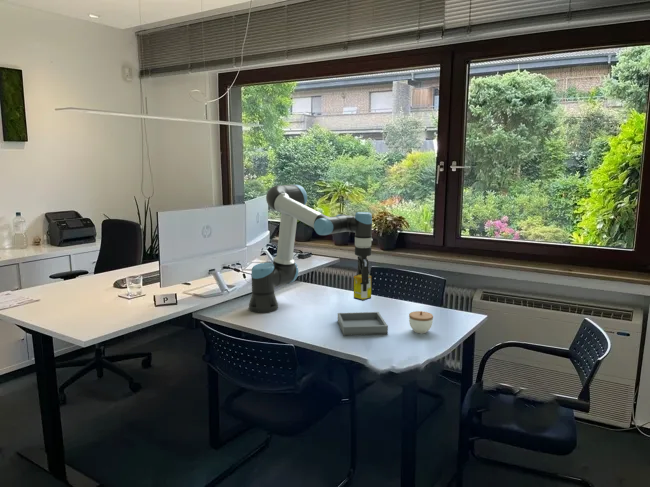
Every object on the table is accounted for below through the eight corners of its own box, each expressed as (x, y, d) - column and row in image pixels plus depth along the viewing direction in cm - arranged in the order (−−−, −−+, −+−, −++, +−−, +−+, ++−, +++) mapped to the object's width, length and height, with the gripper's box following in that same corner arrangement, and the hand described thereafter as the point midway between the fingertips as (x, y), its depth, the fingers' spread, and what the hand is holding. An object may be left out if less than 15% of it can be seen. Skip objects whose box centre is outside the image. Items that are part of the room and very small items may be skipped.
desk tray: (337, 321, 237) (337, 313, 236) (378, 319, 239) (378, 311, 238) (343, 335, 217) (343, 327, 217) (387, 334, 219) (387, 325, 219)
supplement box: (361, 296, 230) (362, 273, 228) (371, 298, 226) (371, 275, 224) (353, 298, 226) (353, 275, 224) (362, 301, 222) (363, 277, 220)
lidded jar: (427, 336, 217) (428, 316, 215) (404, 332, 222) (405, 312, 221) (435, 329, 226) (436, 310, 224) (413, 325, 231) (414, 306, 230)
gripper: (376, 250, 212) (375, 301, 215) (366, 242, 232) (366, 288, 236) (359, 250, 211) (358, 301, 215) (351, 242, 231) (350, 289, 235)
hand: (362, 295), depth 225 cm, fingers closed on supplement box, 8 cm apart
